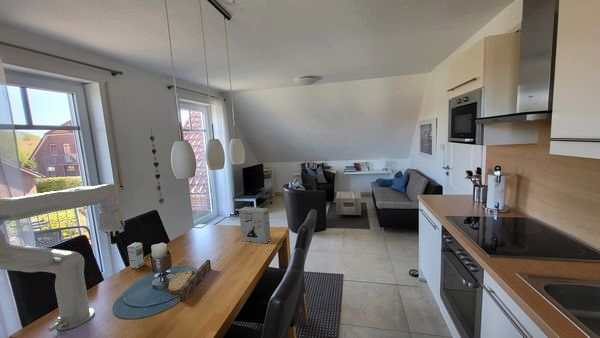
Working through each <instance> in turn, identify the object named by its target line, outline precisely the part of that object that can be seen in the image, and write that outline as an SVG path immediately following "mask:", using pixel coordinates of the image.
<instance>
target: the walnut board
mask: <svg viewBox="0 0 600 338" xmlns="http://www.w3.org/2000/svg"><path fill="white" fill-rule="evenodd" d="M211 264H212V263H211V259H206V260H205V261H204V262H203V263H202V264H201V265H200V267H199V268H198V269H196V271H194V274H193V275H192V276H191V277H190V278H189V279H188V281H187V282H186V283H185V284H184V285H183V286H182V287H181V288H180V289H179V294H178V295H179V301H180V302H185V301H186V299H188V297H189V296H191V294H192V292H194V290H195V289H196V288H197V287H198V286H199V284H201V282H202V281H203V280H204V278H205V277H206V276H207V274H209V272H210V271H211V270H212V267H211V266H212V265H211Z"/></svg>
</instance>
